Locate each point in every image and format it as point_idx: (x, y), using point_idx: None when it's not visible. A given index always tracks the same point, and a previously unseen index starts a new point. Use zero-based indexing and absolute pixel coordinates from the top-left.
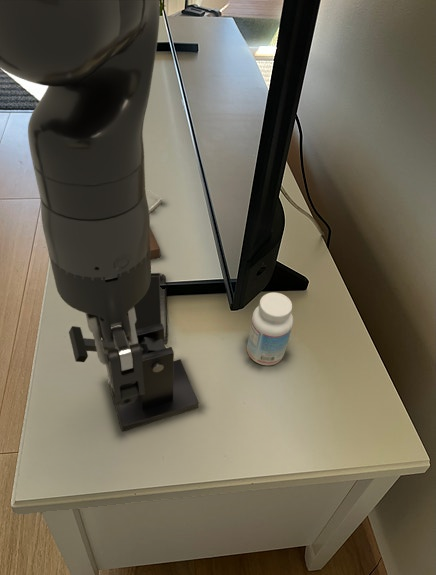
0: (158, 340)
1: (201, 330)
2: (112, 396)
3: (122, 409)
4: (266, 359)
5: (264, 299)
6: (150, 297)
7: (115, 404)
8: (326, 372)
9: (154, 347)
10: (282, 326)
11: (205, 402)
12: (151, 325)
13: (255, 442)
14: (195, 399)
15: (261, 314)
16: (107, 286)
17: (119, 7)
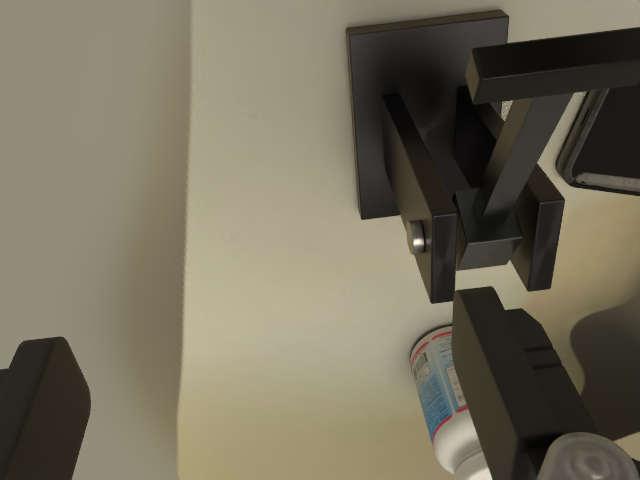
0: (501, 259)
1: (557, 252)
2: (34, 363)
3: (400, 43)
4: (418, 363)
5: None
6: None
7: (25, 341)
8: (364, 425)
9: (476, 252)
10: (446, 462)
11: (367, 225)
12: (627, 153)
13: (250, 293)
14: (373, 216)
15: None
16: None
17: None
